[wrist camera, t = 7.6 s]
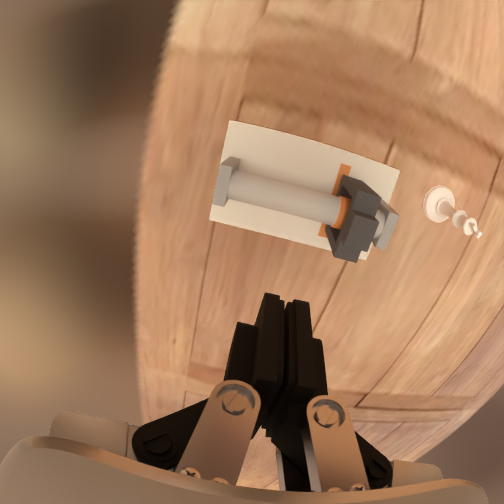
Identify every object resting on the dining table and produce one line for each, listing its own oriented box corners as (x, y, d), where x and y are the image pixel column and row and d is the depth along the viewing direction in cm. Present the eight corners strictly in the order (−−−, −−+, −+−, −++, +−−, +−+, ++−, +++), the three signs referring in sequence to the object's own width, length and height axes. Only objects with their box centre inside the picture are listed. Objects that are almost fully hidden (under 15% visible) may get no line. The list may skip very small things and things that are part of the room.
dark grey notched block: (324, 229, 33) (336, 264, 26) (343, 174, 30) (362, 194, 23) (343, 235, 33) (359, 270, 26) (362, 180, 30) (386, 202, 23)
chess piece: (432, 228, 33) (470, 264, 24) (416, 200, 32) (455, 231, 23) (457, 206, 31) (500, 236, 22) (442, 177, 30) (487, 201, 21)
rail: (210, 217, 35) (196, 239, 29) (231, 119, 30) (218, 120, 24) (363, 256, 36) (377, 284, 30) (396, 169, 30) (420, 182, 24)
